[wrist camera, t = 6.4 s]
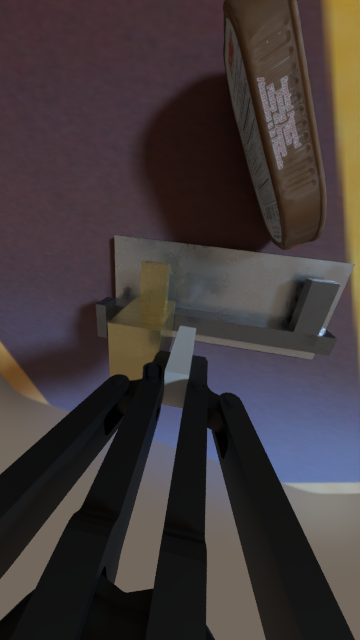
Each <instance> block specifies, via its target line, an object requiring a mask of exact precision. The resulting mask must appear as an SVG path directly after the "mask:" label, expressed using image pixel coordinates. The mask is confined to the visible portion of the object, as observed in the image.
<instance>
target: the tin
mask: <svg viewBox="0 0 360 640" xmlns="http://www.w3.org/2000/svg"><path fill="white" fill-rule="evenodd" d="M223 11H224V49H223V56H224V65H225V72H226V78H227V83H228V89H229V94H230V99H231V104H232V108H233V112H234V116H235V120H236V124H237V128H238V132H239V136H240V140H241V144H242V147H243V151H244V155H245V159H246V163H247V167H248V171H249V174H250V178H251V182H252V185H253V189H254V193H255V196H256V200H257V203H258V207H259V210H260V213H261V216H262V219H263V222H264V225H265V228H266V230H267V233H268V235H269V237H270V239H271V240H272V242H273V243H274V244H275V245H276V246H278V247H279V248H281V249H282V250H287V249H290V248H293V247H295V246H298V245H301V244H303V243H306V242H311V241H315V240H316V239H318V238H319V236H320V235H321V233H322V231H323V228H324V224H325V219H326V208H327V197H326V194H327V193H326V183H325V175H324V169H323V163H322V156H321V150H320V145H319V138H318V132H317V125H316V119H315V113H314V108H313V101H312V95H311V88H310V82H309V77H308V69H307V62H306V56H305V51H304V44H303V37H302V31H301V23H300V17H299V12H298V6H297V0H225V1H224V4H223Z"/></svg>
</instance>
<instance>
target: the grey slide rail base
mask: <svg viewBox="0 0 360 640" xmlns="http://www.w3.org/2000/svg"><path fill="white" fill-rule="evenodd" d="M340 285H341V284H339V283H336V282H334V281H329V280H321V279H313V278H306V280H305V283H304V286H303V288H302V291H301V294H300V297H299V299H298V302H297V305H296V308H295V311H294V313H293V316H292V319H291V322H290V324H287V323H280V322H273V321H266V320H260V319H253V318H246V317H240V316H233V315H226V314H219V313H213V312H206V311H199V310H192V309H186V308H179V307H175V314H174V324H173V331H177V332H178V330H179V327H180V326H185V327H192V328H196V335H202V336H209V337H215V338H221V339H228V340H234V341H240V342H246V343H253V344H259V345H265V346H272V347H278V348H284V349H290V350H297V351H303V352H309V353H316V354H322V355H328V356H329V355H330V353H331V350H332V348H333V346H334V344H335V342H336V340H337V338H335V337H334V336H333V335H332V334H331V333H330V332H328V331H327V330H326V329H322V326H323V324H324V322H325V319H326V317H327V315H328V312H329V310H330V308H331V306H332V303H333V301H334V299H335V296H336V294H337V292H338V289H339V287H340ZM131 302H132V300H125V299H118V298H110V297H106V298H105V299H103V300H102V301H100V302H98V303H97V304H96V316H97V331H98V337H104V338H107V337H108V322H109V321H110V320H111V319H112V318H113V317H115V316H116V315H117V314H118V313H119V312H120V311H122V310H123V309H124V308H125V307H126V306H127V305H129V304H130V303H131Z"/></svg>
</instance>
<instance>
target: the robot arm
mask: <svg viewBox="0 0 360 640" xmlns="http://www.w3.org/2000/svg"><path fill="white" fill-rule="evenodd" d="M195 334H196V328H192V327H185V326H180V327H179V330H178V333H177V336H176V339H175V342H174V345H173V348H172V351H171V352H167V351H161V350H160V351H159V352H158V353H156V355H155V357H154V360H153V362H149V363H146V364H145V365H144V366H143V377H142V378H141V379H138V380H129V378H128V377H127V376H126V375H122V374H116V375H113V376H111V377H110V378H109V379H107V380H106V381H105V382H104V383H103V384H102V385H101V386H100V387H98V388H97V389H96V390H95V391H94V392H93V393H92V394H91V395H89V396H88V397H87V398H86V399H85V400H84V401H83V402H81V403H80V404H79V405H78V406H77V407H76V408H75V409H74V410H72V411H71V412H70V413H69V414H68V415H67V416H66V417H65V418H63V419H62V420H61V421H60V422H59V423H58V424H57V425H56V426H55V427H53V428H52V429H51V430H50V431H49V432H48V433H47V434H46V435H44V436H43V437H42V438H41V439H40V440H39V441H38V442H36V443H35V444H34V445H33V446H32V447H31V448H30V449H29V450H27V451H26V452H25V453H24V454H23V455H22V456H21V457H20V458H18V459H17V460H16V461H15V462H14V463H13V464H12V465H11V466H9V467H8V468H7V469H6V470H5V471H4V472H3V473H1V474H0V579H1V577H2V576H3V575H4V574H5V573H6V571H7V570H8V569H9V568H10V567H11V565H12V564H13V563H14V561H15V560H16V559H17V558H18V556H19V555H20V554H21V552H22V551H23V550H24V548H25V547H26V546H27V545H28V543H29V542H30V541H31V540H32V538H33V537H34V536H35V534H36V533H37V532H38V531H39V529H40V528H41V527H42V525H43V524H44V523H45V522H46V520H47V519H48V518H49V517H50V515H51V514H52V513H53V511H54V510H55V509H56V508H57V506H58V505H59V504H60V502H61V501H62V500H63V499H64V497H65V496H66V495H67V493H68V492H69V491H70V490H71V488H72V487H73V486H74V484H75V483H76V482H77V481H78V479H79V478H80V477H81V476H82V474H83V473H84V472H85V470H86V469H87V468H88V466H89V465H90V464H91V462H92V461H93V460H94V459H95V458H96V456H97V455H98V454H99V452H100V451H101V450H102V449H103V447H104V446H105V445H106V443H107V442H108V441H109V440H110V438H111V437H112V436H113V434H114V433H115V432H116V431H117V429H118V431H117V433H116V435H115V437H114V439H113V441H112V443H111V446H110V448H109V450H108V452H107V454H106V456H105V458H104V461H103V463H102V465H101V467H100V469H99V471H98V474H97V475H96V478H95V480H94V482H93V484H92V486H91V488H90V490H89V492H88V494H87V497H86V499H85V501H84V503H83V505H82V507H81V508H80V510H79V511H77V512H76V513H74V514H73V516H72V517H71V519H70V520H69V522H68V524H67V525H66V527H65V529H64V531H63V533H62V536H61V537H60V540H59V542H58V544H57V546H56V548H55V550H54V552H53V554H52V556H51V558H50V560H49V562H48V564H47V566H46V568H45V570H44V572H43V574H42V576H41V578H40V580H39V582H38V585H37V586H36V588H35V589H34V590H33V591H32V592H31V593H29V594H28V595H27V596H26V597H25V598H24V599H23V600H22V601H20V602H19V603H18V604H17V605H16V606H15V607H14V608H13V609H12V610H11V611H10V612H9V613H8V614H7V615H6V616H5V617H4V618H3V619H2V620H1V621H0V640H215V639H214V637H213V635H212V633H211V632H210V630H209V628H208V627H207V625H206V582H207V575H206V574H207V551H206V550H207V549H206V543H205V498H206V497H205V496H206V455H207V428H209V429H211V430H212V434H213V438H214V442H215V446H216V450H217V454H218V457H219V461H220V465H221V469H222V473H223V477H224V480H225V484H226V488H227V491H228V496H229V500H230V504H231V507H232V511H233V515H234V519H235V523H236V527H237V530H238V534H239V538H240V542H241V546H242V550H243V553H244V557H245V561H246V565H247V569H248V573H249V577H250V580H251V584H252V588H253V592H254V595H255V600H256V603H257V607H258V611H259V615H260V619H261V623H262V626H263V630H264V634H265V638H266V640H355V639H354V637H353V635H352V633H351V631H350V628H349V626H348V624H347V622H346V620H345V618H344V616H343V614H342V612H341V610H340V607H339V606H338V603H337V601H336V599H335V597H334V595H333V593H332V591H331V589H330V587H329V584H328V582H327V580H326V578H325V576H324V574H323V572H322V570H321V567H320V565H319V563H318V561H317V559H316V557H315V555H314V553H313V551H312V549H311V546H310V544H309V542H308V540H307V538H306V536H305V534H304V532H303V530H302V528H301V525H300V523H299V521H298V519H297V517H296V515H295V513H294V511H293V509H292V507H291V504H290V502H289V500H288V498H287V496H286V494H285V492H284V490H283V488H282V485H281V483H280V481H279V479H278V477H277V475H276V473H275V471H274V469H273V467H272V464H271V462H270V460H269V458H268V456H267V454H266V452H265V450H264V448H263V446H262V443H261V441H260V439H259V437H258V435H257V433H256V431H255V429H254V427H253V425H252V422H251V420H250V418H249V416H248V414H247V412H246V410H245V408H244V406H243V403H242V401H241V400H240V398H239V397H237V396H236V395H234V394H232V393H223V394H221V395H217V394H215V393H213V392H212V391H211V390H210V389H209V388H208V386H207V366H208V361H207V360H206V358H205V357H201V356H194V355H192V354H193V348H194V341H195ZM161 403H162V404H163V405H168V406H174V407H179V408H183V412H182V418H181V424H180V430H179V436H178V443H177V449H176V455H175V461H174V467H173V473H172V480H171V486H170V492H169V498H168V504H167V511H166V516H165V523H164V529H163V534H162V540H161V546H160V552H159V558H158V564H157V570H156V576H155V583H154V589H148V590H142V591H135V592H129V593H126V592H123V591H122V590H120V589H119V588H118V587H117V586H116V585H114V582H115V578H116V574H117V569H118V564H119V559H120V554H121V550H122V546H123V542H124V539H125V535H126V532H127V528H128V525H129V521H130V518H131V514H132V511H133V507H134V504H135V500H136V496H137V493H138V489H139V486H140V482H141V478H142V475H143V471H144V468H145V464H146V460H147V457H148V454H149V450H150V447H151V443H152V439H153V436H154V432H155V429H156V425H157V422H158V418H159V414H160V411H161Z"/></svg>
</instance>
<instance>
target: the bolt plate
mask: <svg viewBox="0 0 360 640" xmlns="http://www.w3.org/2000/svg"><path fill="white" fill-rule="evenodd" d="M114 238H115V278H116V298H118V299H125V300H132V301H133V300H134V299H135V298H137V297H138V296H139V297H140V292H141V262H142V261H145V260H149V261H157V262H165V263H171V267H170V278H169V290H168V301H174V302H176V305H175V307H179V308H186V309H192V310H199V311H206V312H213V313H219V314H226V315H233V316H240V317H246V318H253V319H260V320H266V321H273V322H280V323H287V324H290V322H291V319H292V316H293V313H294V311H295V308H296V305H297V302H298V299H299V297H300V294H301V291H302V288H303V286H304V283H305V280H306V278H313V279H321V280H329V281H334V282H336V283H339V284H341V285H340V287H339V289H338V292H337V294H336V296H335V299H334V301H333V303H332V306H331V308H330V310H329V312H328V315H327V317H326V319H325V322H324V324H323V326H322V329H326V328H327V325H328V323H329V321H330V319H331V316H332V314H333V312H334V310H335V307H336V305H337V303H338V301H339V298H340V296H341V294H342V292H343V289H344V287H345V285H346V283H347V280H348V278H349V276H350V274H351V271H352V269H353V267H354V265H355V264H352V263H346V262H338V261H329V260H321V259H313V258H305V257H296V256H288V255H280V254H271V253H263V252H255V251H246V250H238V249H230V248H222V247H213V246H205V245H197V244H188V243H180V242H172V241H164V240H155V239H147V238H139V237H130V236H122V235H114ZM177 333H178V332H177V331H173V334H172V337H176V336H177ZM195 341H201V342H207V343H213V344H219V345H225V346H232V347H238V348H244V349H250V350H256V351H262V352H269V353H275V354H281V355H287V356H293V357H300V358H306V359H313V357H314V354H315V353H309V352H303V351H297V350H290V349H284V348H278V347H272V346H265V345H259V344H253V343H246V342H240V341H234V340H228V339H221V338H215V337H209V336H202V335H196V334H195Z"/></svg>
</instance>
